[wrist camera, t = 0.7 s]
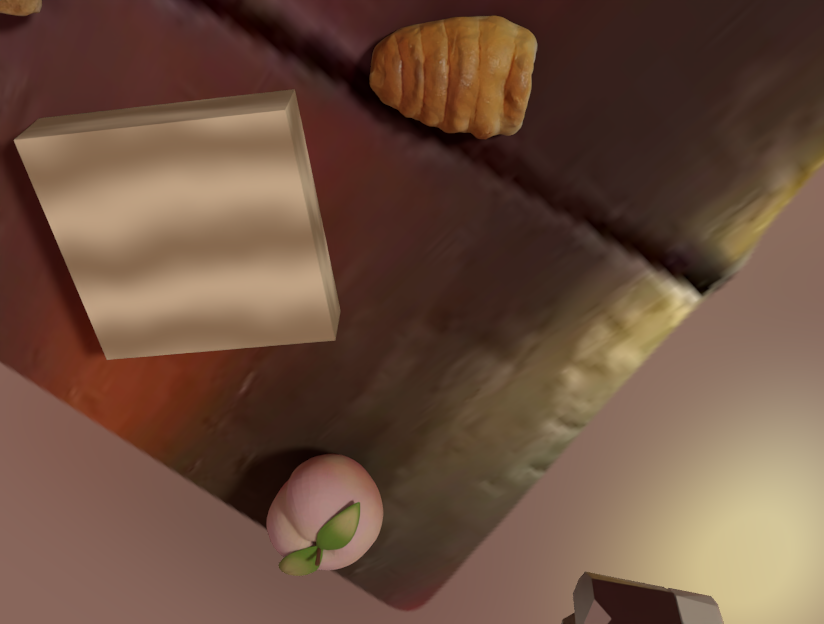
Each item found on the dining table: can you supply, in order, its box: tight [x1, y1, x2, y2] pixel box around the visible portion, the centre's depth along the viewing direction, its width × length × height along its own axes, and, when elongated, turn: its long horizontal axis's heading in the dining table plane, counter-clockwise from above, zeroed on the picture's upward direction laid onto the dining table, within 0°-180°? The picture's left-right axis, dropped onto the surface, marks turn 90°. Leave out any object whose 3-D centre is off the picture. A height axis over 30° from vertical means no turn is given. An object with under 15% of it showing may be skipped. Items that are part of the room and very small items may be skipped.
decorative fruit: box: [267, 454, 383, 576], centre depth 60 cm, size 9×8×10 cm
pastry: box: [369, 16, 537, 139], centre depth 44 cm, size 9×7×4 cm
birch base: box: [14, 89, 340, 360], centre depth 50 cm, size 16×16×4 cm
